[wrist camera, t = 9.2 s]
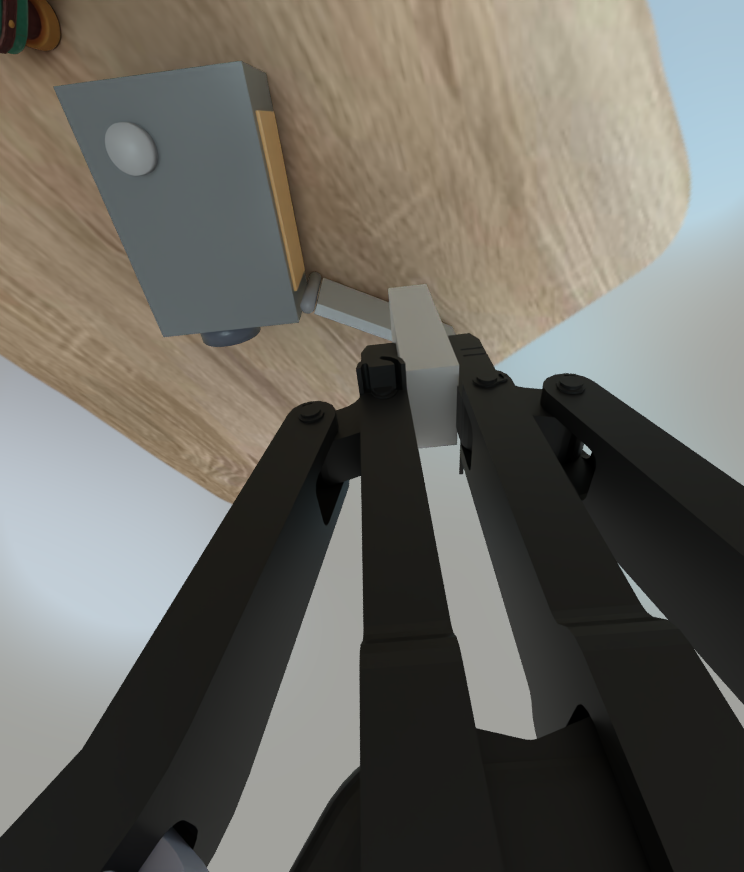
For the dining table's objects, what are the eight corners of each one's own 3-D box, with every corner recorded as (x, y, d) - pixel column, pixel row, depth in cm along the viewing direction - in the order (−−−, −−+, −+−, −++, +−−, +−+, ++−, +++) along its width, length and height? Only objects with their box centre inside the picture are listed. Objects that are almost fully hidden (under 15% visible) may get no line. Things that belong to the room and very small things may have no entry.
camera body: (116, 93, 27) (43, 85, 21) (269, 72, 27) (241, 58, 20) (200, 320, 36) (168, 361, 30) (314, 308, 36) (305, 347, 30)
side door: (452, 323, 37) (467, 357, 32) (444, 338, 38) (458, 373, 33) (311, 270, 34) (302, 297, 29) (306, 287, 35) (296, 317, 29)
